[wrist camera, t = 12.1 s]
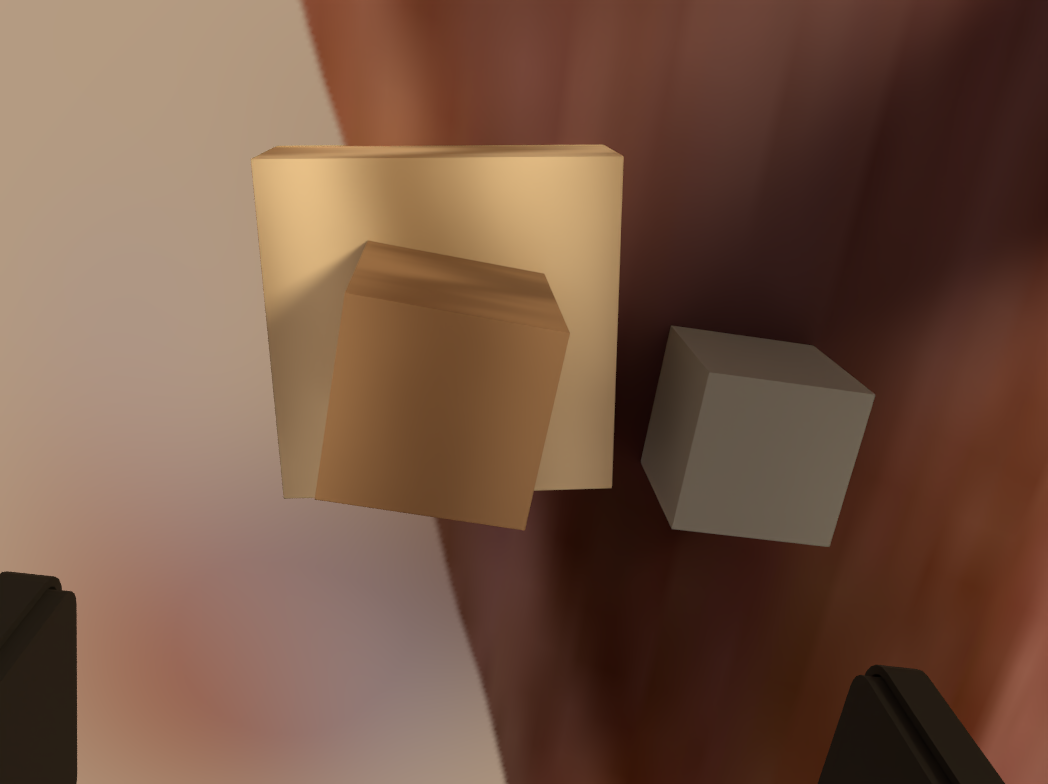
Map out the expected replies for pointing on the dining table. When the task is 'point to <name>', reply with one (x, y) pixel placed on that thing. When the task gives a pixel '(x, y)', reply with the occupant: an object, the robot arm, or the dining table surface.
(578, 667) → the dining table surface
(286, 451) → the birch block
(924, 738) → the robot arm
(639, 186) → the dining table surface
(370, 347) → the walnut block
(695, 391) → the slate block
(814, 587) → the dining table surface
